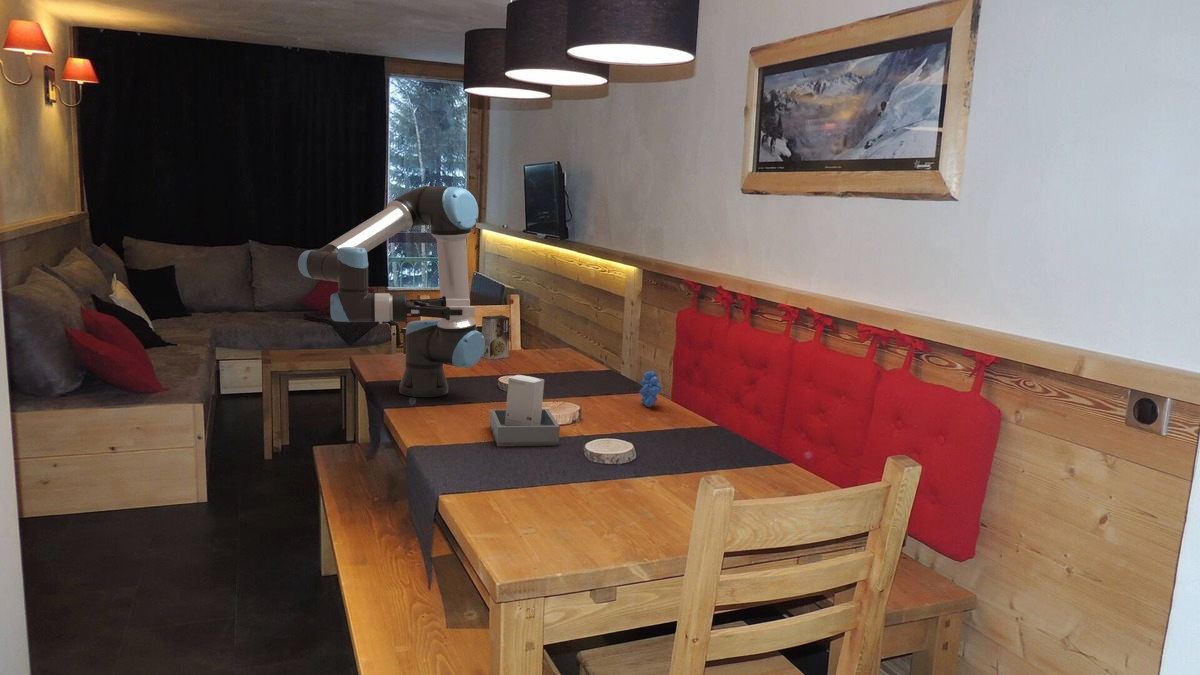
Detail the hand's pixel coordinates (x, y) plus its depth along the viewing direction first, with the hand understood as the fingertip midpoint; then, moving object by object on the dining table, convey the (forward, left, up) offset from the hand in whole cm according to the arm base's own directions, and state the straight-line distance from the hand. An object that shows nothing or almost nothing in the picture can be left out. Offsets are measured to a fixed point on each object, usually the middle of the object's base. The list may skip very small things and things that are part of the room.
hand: (472, 307), depth 227 cm
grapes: (-16, +58, -33) cm, 68 cm away
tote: (+13, +13, -32) cm, 37 cm away
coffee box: (-95, +18, -33) cm, 102 cm away
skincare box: (+13, +13, -32) cm, 36 cm away
